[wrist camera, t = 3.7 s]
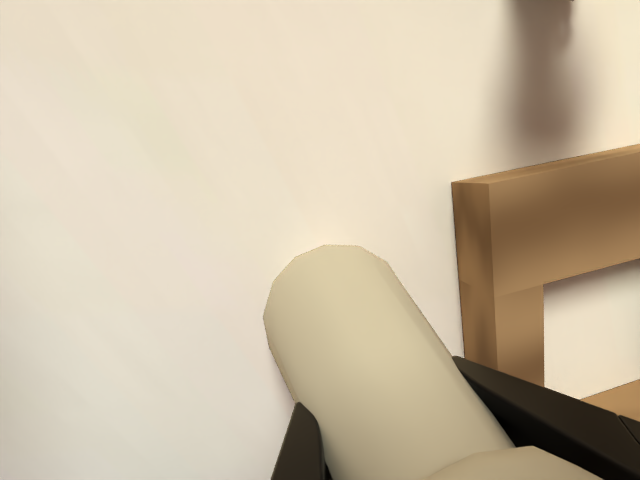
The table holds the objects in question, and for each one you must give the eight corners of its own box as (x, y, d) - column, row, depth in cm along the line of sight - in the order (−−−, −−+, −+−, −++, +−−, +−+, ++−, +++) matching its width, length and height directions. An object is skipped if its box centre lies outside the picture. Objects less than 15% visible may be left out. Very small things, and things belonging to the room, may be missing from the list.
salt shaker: (389, 236, 15) (1059, 548, 2) (375, 347, 16) (797, 955, 4) (264, 231, 14) (347, 780, 1) (259, 351, 15) (274, 1290, 2)
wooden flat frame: (667, 429, 22) (718, 460, 20) (475, 501, 20) (506, 547, 17) (698, 131, 17) (769, 124, 15) (451, 182, 15) (488, 183, 13)
